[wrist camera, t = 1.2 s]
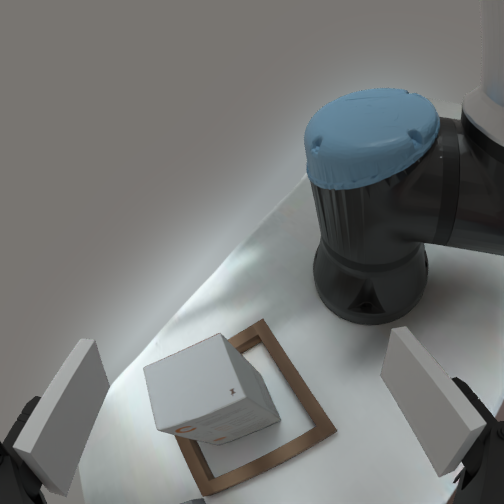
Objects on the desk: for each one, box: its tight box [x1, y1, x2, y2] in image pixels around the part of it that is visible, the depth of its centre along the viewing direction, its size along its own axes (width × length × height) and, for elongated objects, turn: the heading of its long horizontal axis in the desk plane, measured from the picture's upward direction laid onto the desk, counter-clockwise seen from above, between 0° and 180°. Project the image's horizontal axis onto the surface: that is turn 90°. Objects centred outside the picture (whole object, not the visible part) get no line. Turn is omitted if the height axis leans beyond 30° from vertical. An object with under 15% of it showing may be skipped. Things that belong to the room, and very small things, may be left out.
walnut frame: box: [175, 319, 337, 497], centre depth 32 cm, size 16×16×2 cm
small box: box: [143, 333, 281, 445], centre depth 28 cm, size 8×6×13 cm
